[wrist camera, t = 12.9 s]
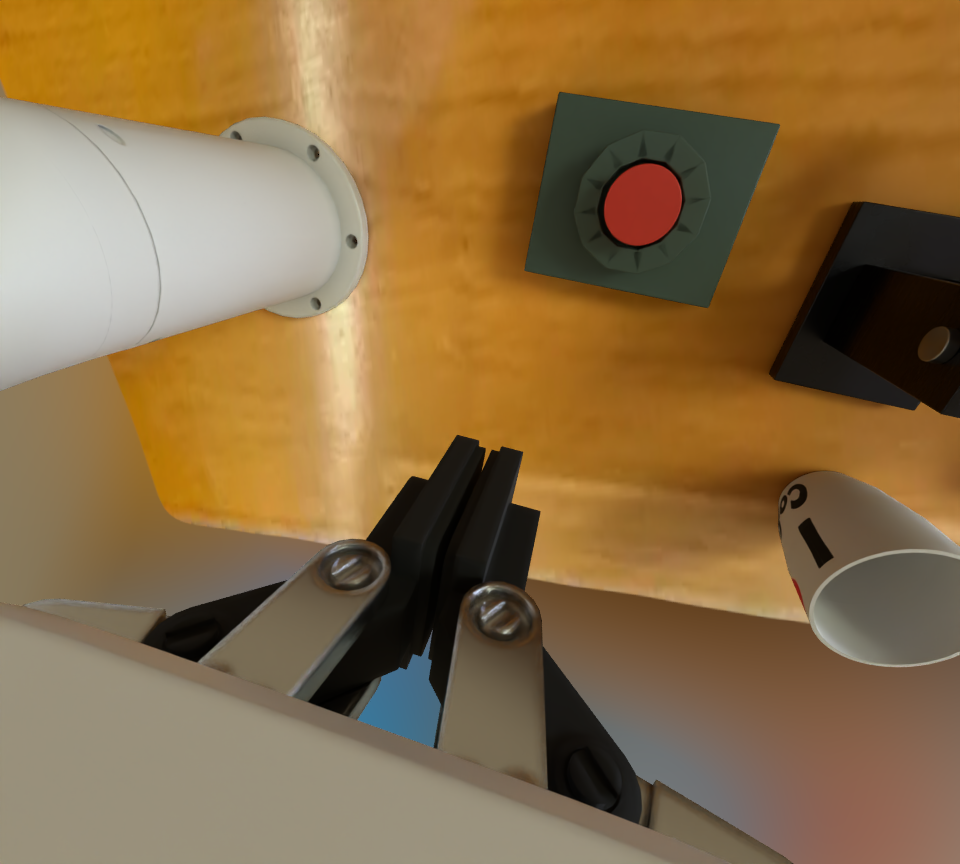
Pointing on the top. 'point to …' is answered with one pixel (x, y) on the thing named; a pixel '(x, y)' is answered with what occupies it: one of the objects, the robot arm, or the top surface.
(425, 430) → the top surface
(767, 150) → the button box
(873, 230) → the bracket
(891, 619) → the cup
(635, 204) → the button
